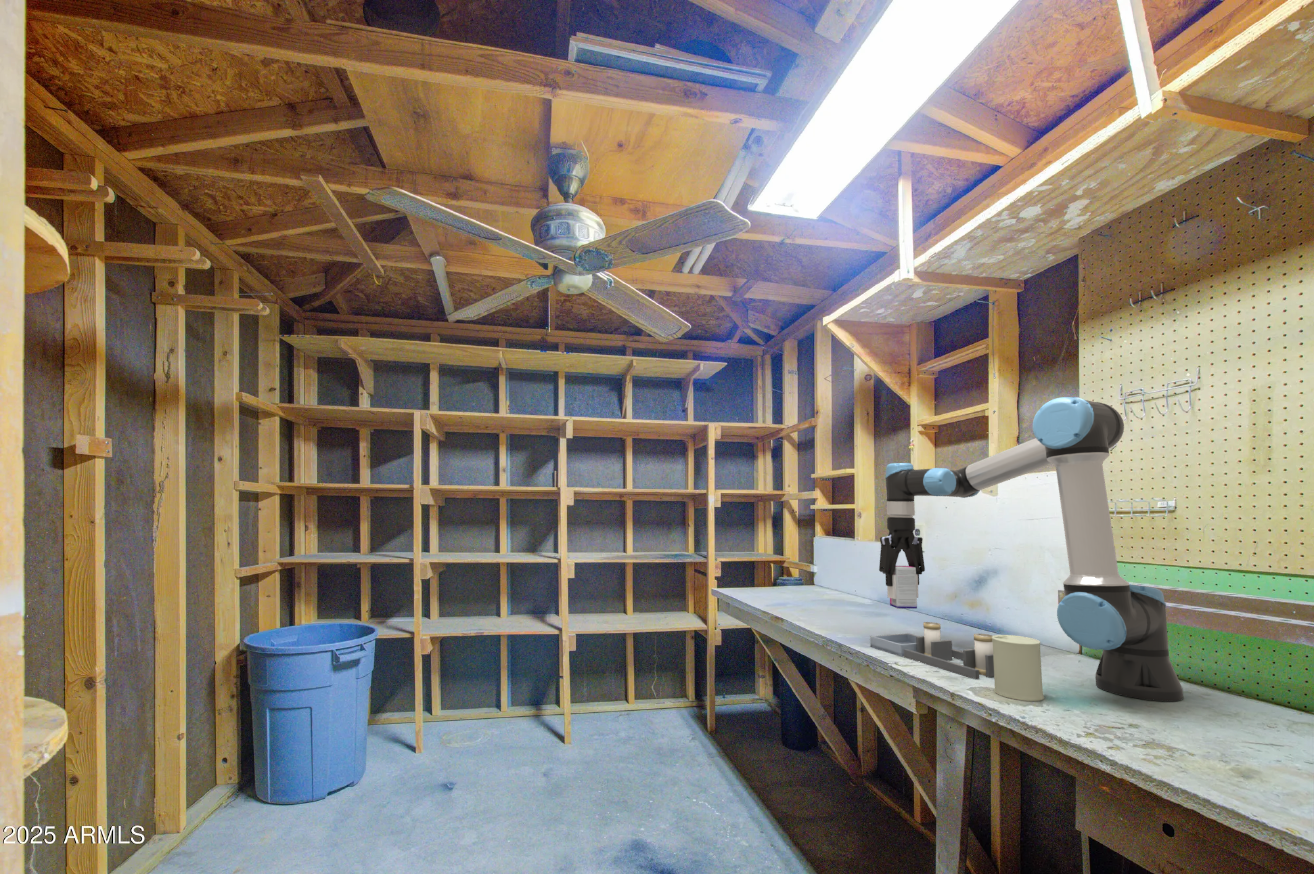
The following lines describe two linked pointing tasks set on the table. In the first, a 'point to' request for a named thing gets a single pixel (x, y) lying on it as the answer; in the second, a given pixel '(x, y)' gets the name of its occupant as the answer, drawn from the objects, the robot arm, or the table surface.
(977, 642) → the cylinder
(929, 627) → the cylinder
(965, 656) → the holder
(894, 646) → the tray
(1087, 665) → the table surface
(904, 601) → the supplement box
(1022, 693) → the can
